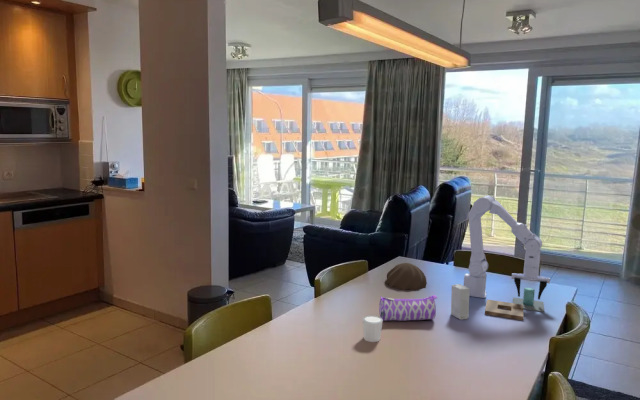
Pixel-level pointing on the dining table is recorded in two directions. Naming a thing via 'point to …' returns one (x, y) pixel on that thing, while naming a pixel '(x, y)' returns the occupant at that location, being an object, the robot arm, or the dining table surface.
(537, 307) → the slate mat
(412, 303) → the pencil case
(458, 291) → the skincare box
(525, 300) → the peg
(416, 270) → the decorative dome
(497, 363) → the dining table surface
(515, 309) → the holder block
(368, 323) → the white cylinder
